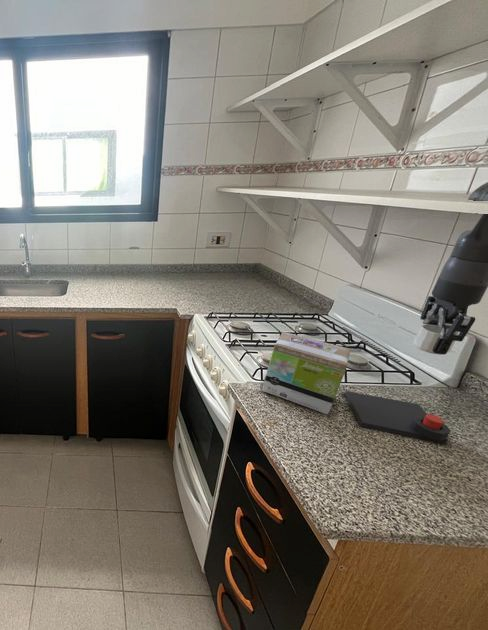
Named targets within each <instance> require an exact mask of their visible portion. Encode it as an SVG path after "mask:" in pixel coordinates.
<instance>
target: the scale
mask: <svg viewBox="0 0 488 630" xmlns="http://www.w3.org/2000/svg"><path fill="white" fill-rule="evenodd" d="M343 395H344V397H345V399H346V401H347V403H348V404H349V406H350V408H351V411H352V412H353V414H354V416H355V418H356V420H357V422H358V424H359V425H360V427H361V428H367V429H372V430H377V431H381V432H386V433H390V434H396V435H400V436H405V437H410V438H415V439H418V440H419V439H420V440H424V441H429V442H434V443H439V444H443V445H446V444H447V442H448V436H449V435H450V432H451V429H450V428H449V427H448V425H446V424H445V423H443V424H442V426H441V428H440V430H435V429H432V428H429V427H427V426H425V425H424V424H423V423H422V422H423V420H424V418H425V416H426V415H427V412H426V411H425V410H424V409H423V408H422V406H421V405H420V403H414V402H409V401H402V400H397V399H392V398H386V397H381V396H376V395H375V396H374V395H371V394H364V393H359V392H354V391H349V390H345V391H344V393H343Z"/></svg>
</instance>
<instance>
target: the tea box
mask: <svg viewBox="0 0 488 630" xmlns="http://www.w3.org/2000/svg"><path fill="white" fill-rule="evenodd" d="M350 355H351V348H350V347H349V348H348V347H344V346H340V345H336V344H333V343H328V342H326V341H321V340H317V339H313V338H310V337H305V336H301V335H298V334H294V333H291V332H286V331H282V332H281V334H280V335H279V337H278V339H277V341H276V342H275V344H274V346H273V349H272V351H271V356H270V360H269V363H268V367H267V370H266V372H265V373H266V374H265V378H264V380H263V384H262V385H263V386H262V390H261V392H263V393H267V394H270V395H272V396H276V397H279V398H282V399H284V400H287V401H290V402H291V403H295V404H297V405H299V406H300V405H301V406H304V407H306V408H308V409H311V410H314V411H316V412H319V413H322V414H324V415H329V413H330V411H331V409H332V406H333V404H334V403H335V399H336V397H337V394H338V391H339V388H340V386H341V383H342V381H343V378H344V376H345V373H346V370H347V368H348V364H349V357H350Z"/></svg>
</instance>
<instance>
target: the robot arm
mask: <svg viewBox="0 0 488 630" xmlns="http://www.w3.org/2000/svg"><path fill="white" fill-rule="evenodd" d="M468 200H473V201H488V181H487V182H485V183H483V184H481V185H479V187H477V188H476V189H474V190H473V191H472V192H471V194H470V195H469V196H468V199H467V201H468ZM474 214H475V215H478V216H480V218H479V219H478V221H477V222H476V223H475V225H474V226H473V228H470V229H467V230H464V231H463V232H461V234H460V235H459V236H458V237H457V240H456V242H455V243H454V246H453V248H452V250H451V253H450V255H449V257H448V259H447V260H446V262H445V263H444V265H443V267H442V269H441V271H440V273H439V275H438V277H437V280H436V282H435V284H434V287H433V288H432V291H431V295H429V296H428V297H427V299H426V301H425V304H424V307H423V310H422V312H421V315H420V317H419V318H420V320H421V321H422V325H423V324H431V325H438V327H439V328H440V335H439V337H438V339H437V342H436V344H435V346H434V348H433V350H432V351H433V352H434V353H437V354H436V355H438V354H445V355H447V354H448V353H447V351H448V349H449V347H450V345H451V343H452V342H453V341H455V342H463V340H464V339H465V337H467V334H468V333H469V331H470V329H471V328H472V326H473V325H474V323H475V322H476V317H475V316H469V315H467V314H468V309H469V307H470V306H473V305H477V304H479V303H481V301H482V299H483V297H484V295H485V293H486V291H487V289H488V214H478V213H474ZM447 329H449V330H448V332H447V333H446V330H447ZM446 353H447V354H446Z"/></svg>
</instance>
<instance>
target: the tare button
mask: <svg viewBox="0 0 488 630" xmlns="http://www.w3.org/2000/svg"><path fill="white" fill-rule="evenodd" d="M426 414H427V413H426ZM422 423H423V424H424V425H425V426H427V427H429V428H432V429H435V430H440V428H441V426H442V424H444V423H445V421H444V419H443V418H441V417H439V416H438V415H434V414H430V413H429V414H427V415H426V416H425V418H424V420H423V422H422Z"/></svg>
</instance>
